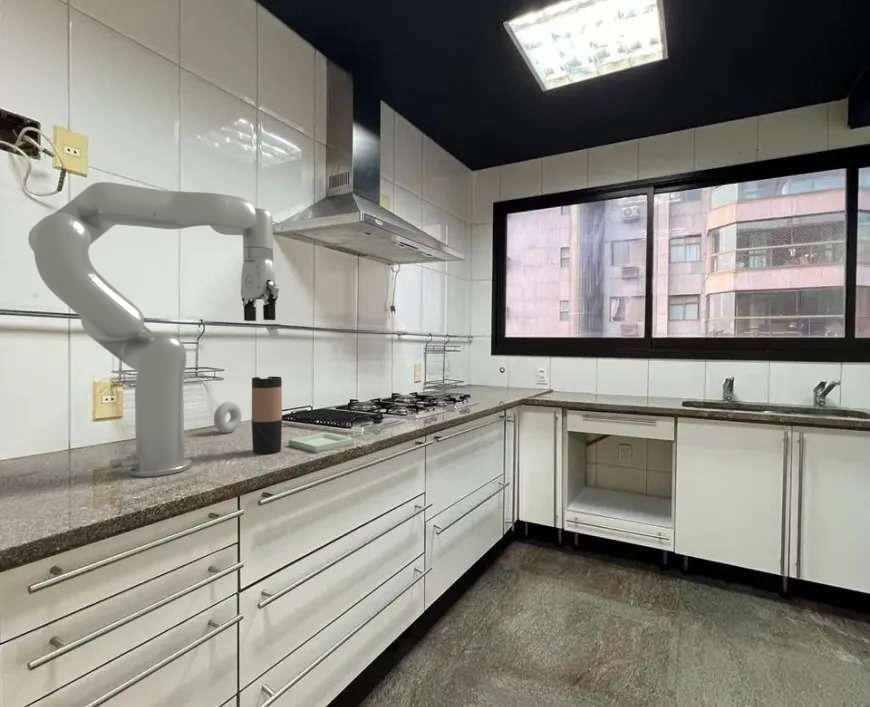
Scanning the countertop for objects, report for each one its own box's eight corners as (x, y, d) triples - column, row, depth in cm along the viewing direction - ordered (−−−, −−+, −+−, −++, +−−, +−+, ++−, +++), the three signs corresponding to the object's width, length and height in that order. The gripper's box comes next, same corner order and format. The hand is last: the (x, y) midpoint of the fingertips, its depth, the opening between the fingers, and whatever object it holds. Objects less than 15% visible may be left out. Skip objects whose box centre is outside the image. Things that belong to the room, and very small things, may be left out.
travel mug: (272, 455, 117) (271, 379, 117) (245, 454, 119) (245, 378, 118) (287, 449, 125) (287, 376, 124) (262, 447, 126) (262, 376, 126)
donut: (236, 429, 151) (235, 399, 151) (244, 430, 150) (243, 400, 150) (211, 435, 142) (210, 403, 142) (219, 436, 141) (219, 404, 140)
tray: (316, 453, 120) (316, 446, 120) (288, 445, 129) (288, 439, 129) (353, 444, 130) (353, 438, 130) (326, 438, 139) (325, 432, 139)
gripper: (228, 258, 124) (230, 320, 125) (262, 250, 113) (264, 319, 114) (254, 261, 130) (255, 321, 130) (289, 254, 119) (290, 320, 120)
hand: (259, 320), depth 122 cm, fingers open, 9 cm apart
